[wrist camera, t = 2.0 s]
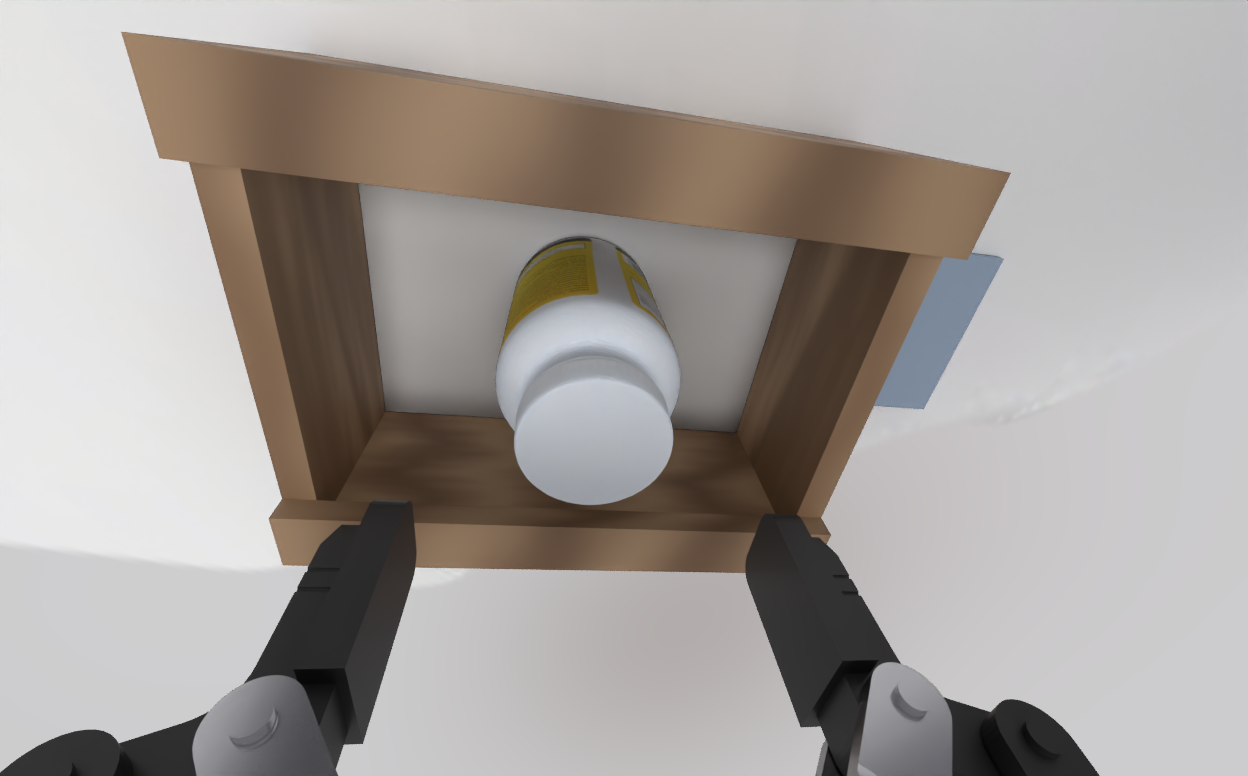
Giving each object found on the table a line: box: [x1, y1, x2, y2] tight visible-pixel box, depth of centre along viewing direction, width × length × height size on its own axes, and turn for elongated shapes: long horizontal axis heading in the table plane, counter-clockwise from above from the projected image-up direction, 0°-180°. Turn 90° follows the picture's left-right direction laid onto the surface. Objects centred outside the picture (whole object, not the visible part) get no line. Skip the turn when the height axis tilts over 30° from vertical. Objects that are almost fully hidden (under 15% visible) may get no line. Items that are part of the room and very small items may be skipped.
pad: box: [874, 253, 1003, 409], centre depth 27 cm, size 9×9×1 cm
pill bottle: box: [495, 237, 681, 505], centre depth 19 cm, size 6×6×12 cm
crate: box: [121, 32, 1011, 573], centre depth 20 cm, size 22×17×9 cm
